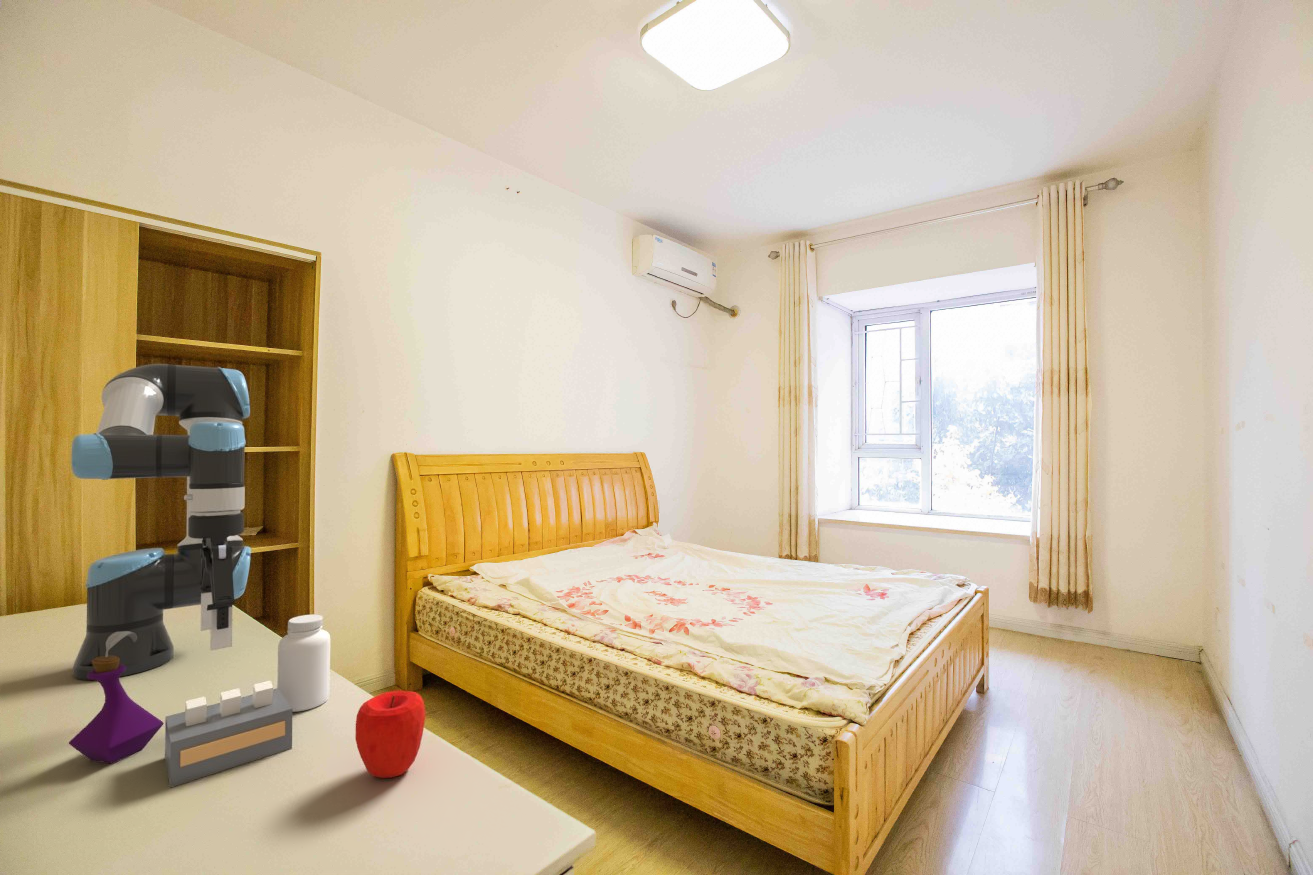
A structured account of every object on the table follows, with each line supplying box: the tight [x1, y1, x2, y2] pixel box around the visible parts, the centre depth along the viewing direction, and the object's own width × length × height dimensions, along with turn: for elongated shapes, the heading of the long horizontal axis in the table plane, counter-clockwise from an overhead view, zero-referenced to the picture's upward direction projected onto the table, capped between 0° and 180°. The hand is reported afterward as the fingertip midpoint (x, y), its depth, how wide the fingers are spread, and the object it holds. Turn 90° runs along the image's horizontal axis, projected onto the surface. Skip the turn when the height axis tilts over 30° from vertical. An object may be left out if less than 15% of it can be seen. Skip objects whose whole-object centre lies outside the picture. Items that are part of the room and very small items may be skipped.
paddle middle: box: [219, 687, 242, 717], centre depth 84 cm, size 2×2×3 cm
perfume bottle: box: [68, 631, 164, 764], centre depth 84 cm, size 8×8×18 cm
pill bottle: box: [276, 614, 331, 713], centre depth 100 cm, size 8×8×15 cm
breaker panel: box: [164, 687, 293, 788], centre depth 84 cm, size 10×14×6 cm
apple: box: [355, 690, 427, 779], centre depth 79 cm, size 9×9×11 cm
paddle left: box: [184, 696, 208, 727], centre depth 81 cm, size 2×2×3 cm
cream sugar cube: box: [252, 680, 274, 708], centre depth 87 cm, size 2×2×3 cm
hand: (215, 638), depth 96 cm, fingers open, 13 cm apart
